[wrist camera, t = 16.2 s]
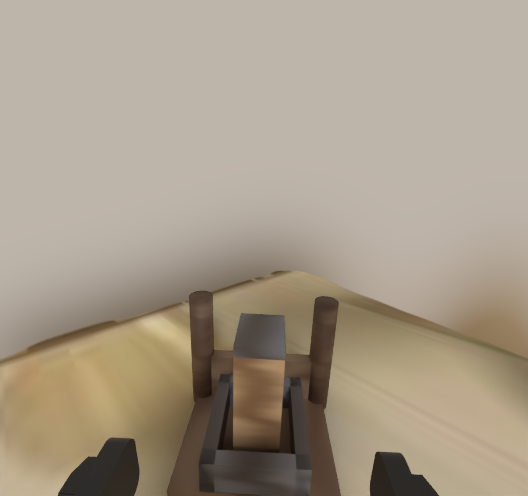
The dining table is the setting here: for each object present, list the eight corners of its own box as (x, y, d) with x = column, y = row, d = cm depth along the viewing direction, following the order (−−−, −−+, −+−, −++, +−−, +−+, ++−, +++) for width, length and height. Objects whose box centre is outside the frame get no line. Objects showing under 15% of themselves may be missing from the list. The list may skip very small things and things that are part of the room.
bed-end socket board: (324, 394, 35) (335, 296, 31) (349, 510, 23) (372, 376, 19) (196, 387, 35) (192, 289, 31) (159, 498, 24) (145, 365, 20)
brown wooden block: (277, 417, 30) (284, 315, 27) (278, 465, 25) (285, 349, 22) (239, 414, 30) (241, 313, 27) (232, 462, 26) (233, 346, 22)
